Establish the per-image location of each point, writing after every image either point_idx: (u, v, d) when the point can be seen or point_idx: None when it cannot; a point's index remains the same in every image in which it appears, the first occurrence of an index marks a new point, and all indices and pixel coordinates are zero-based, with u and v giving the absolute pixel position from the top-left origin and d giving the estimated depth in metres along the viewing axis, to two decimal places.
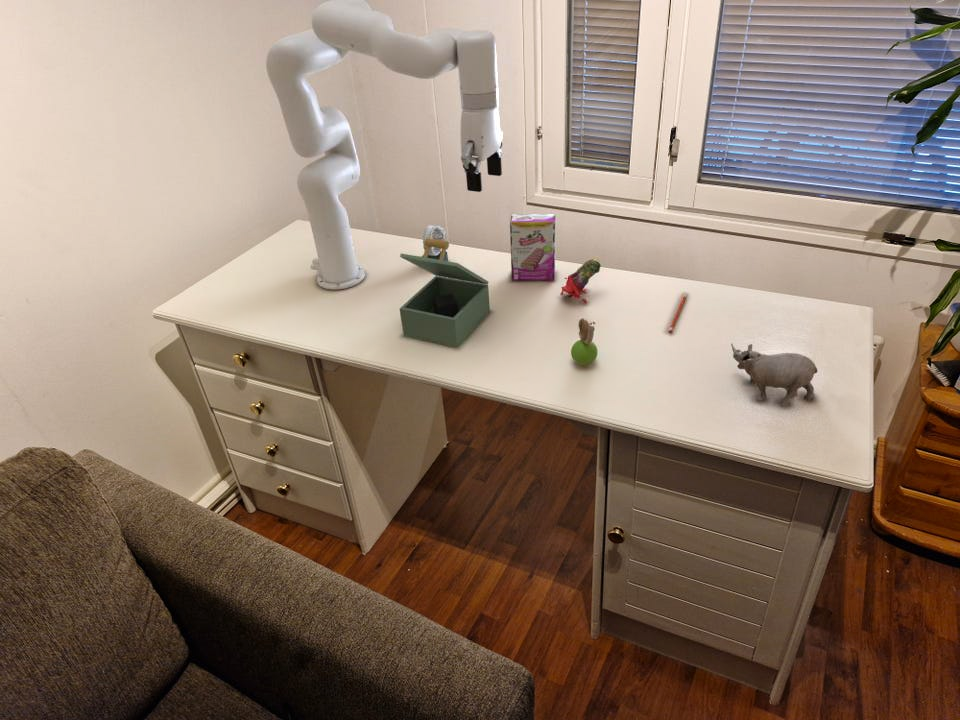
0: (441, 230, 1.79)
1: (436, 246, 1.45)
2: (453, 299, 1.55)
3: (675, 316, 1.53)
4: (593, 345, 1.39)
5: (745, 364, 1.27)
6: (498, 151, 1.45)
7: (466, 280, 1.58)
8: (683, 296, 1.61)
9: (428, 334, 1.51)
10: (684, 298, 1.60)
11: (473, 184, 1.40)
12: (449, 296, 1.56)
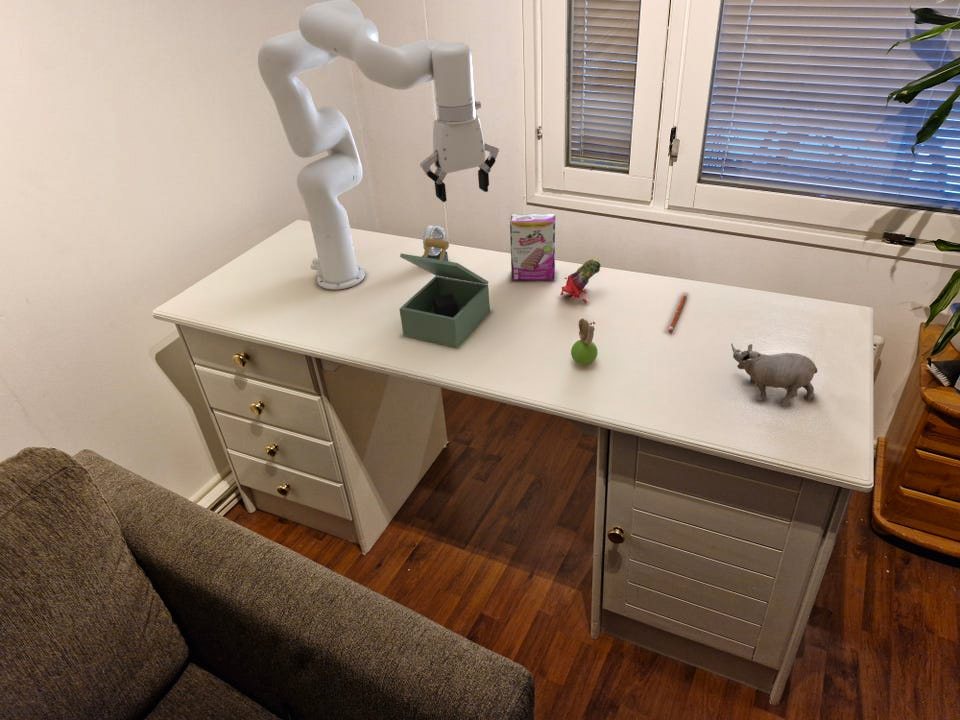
0: (441, 230, 1.79)
1: (436, 246, 1.45)
2: (453, 299, 1.55)
3: (675, 315, 1.53)
4: (593, 345, 1.39)
5: (745, 364, 1.27)
6: (483, 167, 1.41)
7: (466, 280, 1.58)
8: (684, 295, 1.60)
9: (428, 334, 1.51)
10: (684, 297, 1.60)
11: (437, 193, 1.40)
12: (449, 296, 1.56)
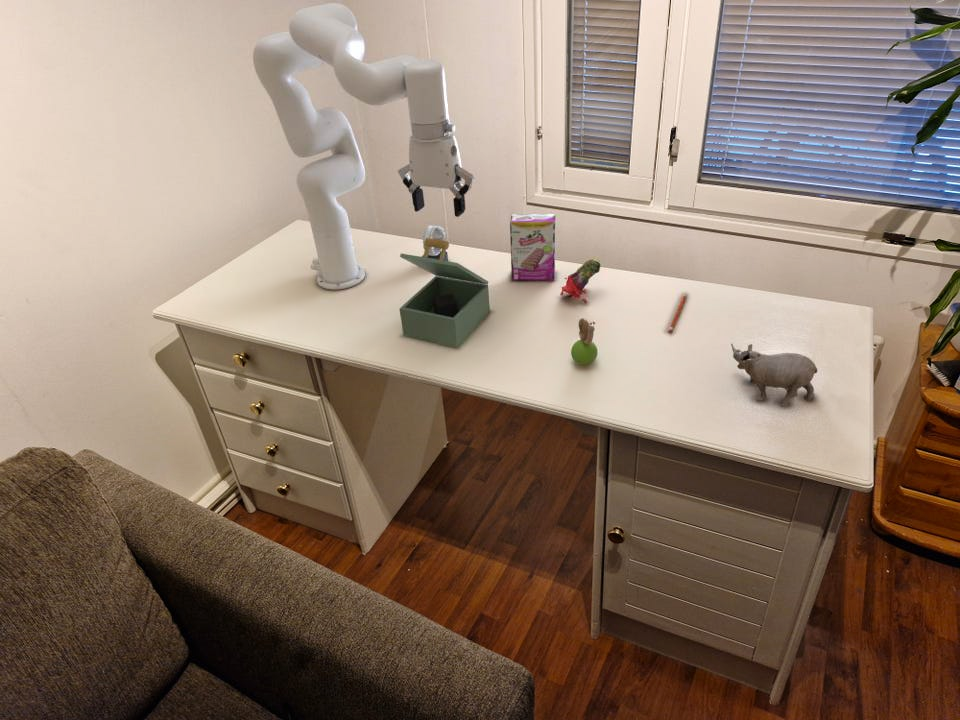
0: (441, 230, 1.79)
1: (436, 246, 1.45)
2: (453, 299, 1.55)
3: (675, 316, 1.53)
4: (593, 345, 1.39)
5: (745, 364, 1.27)
6: (453, 191, 1.36)
7: (466, 280, 1.58)
8: (683, 296, 1.61)
9: (428, 334, 1.51)
10: (684, 298, 1.60)
11: None
12: (449, 296, 1.56)
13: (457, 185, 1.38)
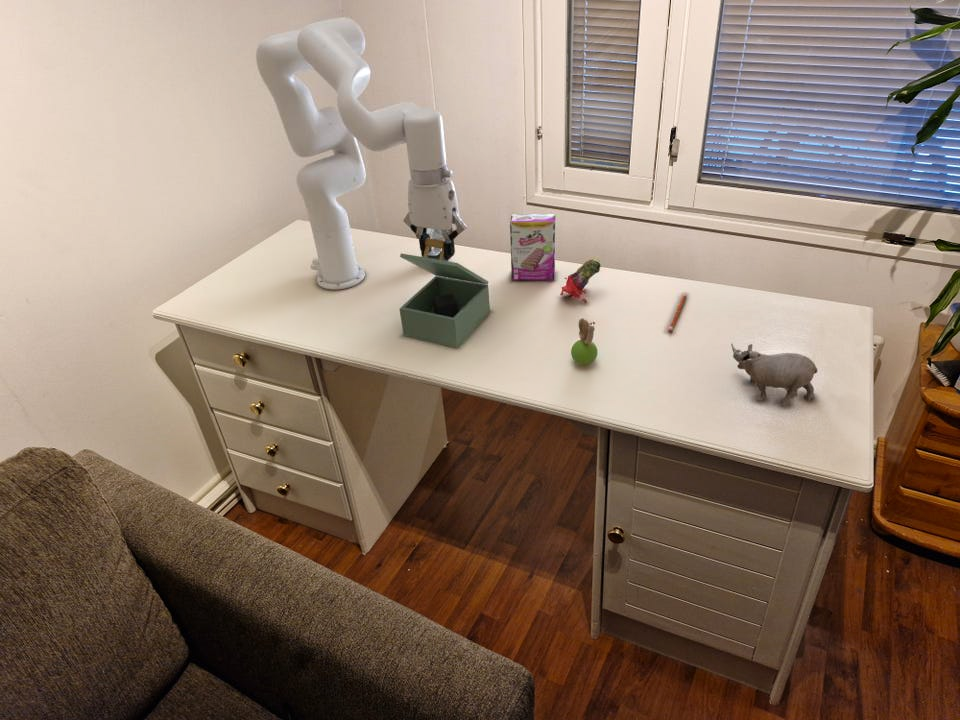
0: None
1: (436, 246, 1.45)
2: (453, 299, 1.55)
3: (675, 315, 1.53)
4: (593, 345, 1.39)
5: (745, 364, 1.27)
6: (443, 236, 1.42)
7: (466, 280, 1.58)
8: (684, 295, 1.60)
9: (428, 334, 1.51)
10: (684, 297, 1.60)
11: None
12: (449, 296, 1.56)
13: None
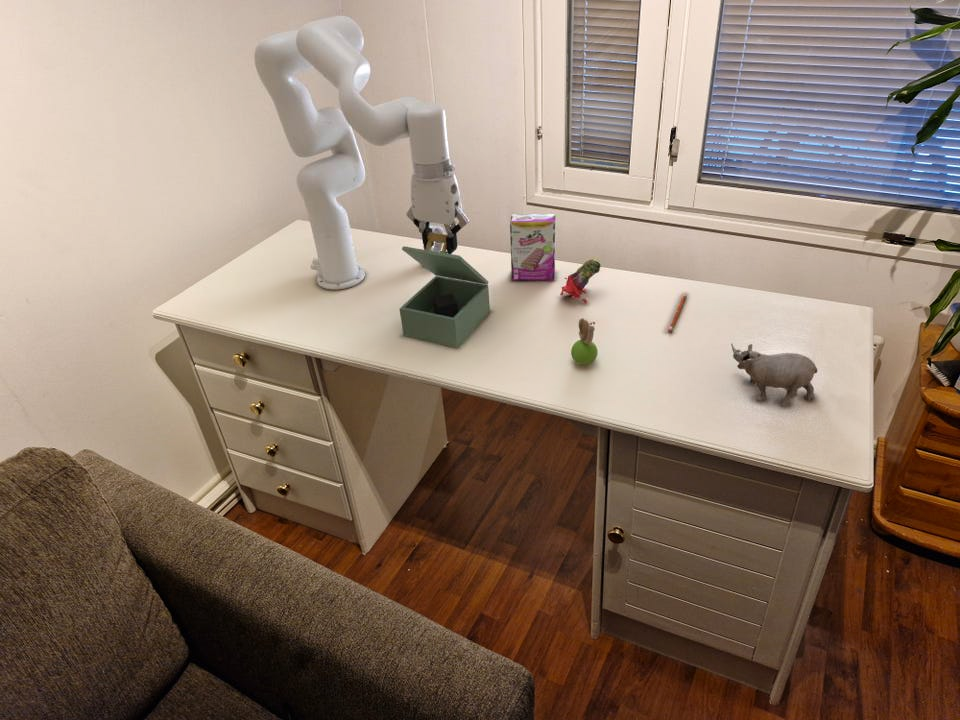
0: (441, 230, 1.79)
1: (438, 239, 1.45)
2: (453, 299, 1.55)
3: (675, 315, 1.53)
4: (593, 345, 1.39)
5: (745, 364, 1.27)
6: None
7: (466, 280, 1.58)
8: (684, 295, 1.61)
9: (428, 334, 1.51)
10: (684, 297, 1.60)
11: None
12: (449, 296, 1.56)
13: (452, 223, 1.44)
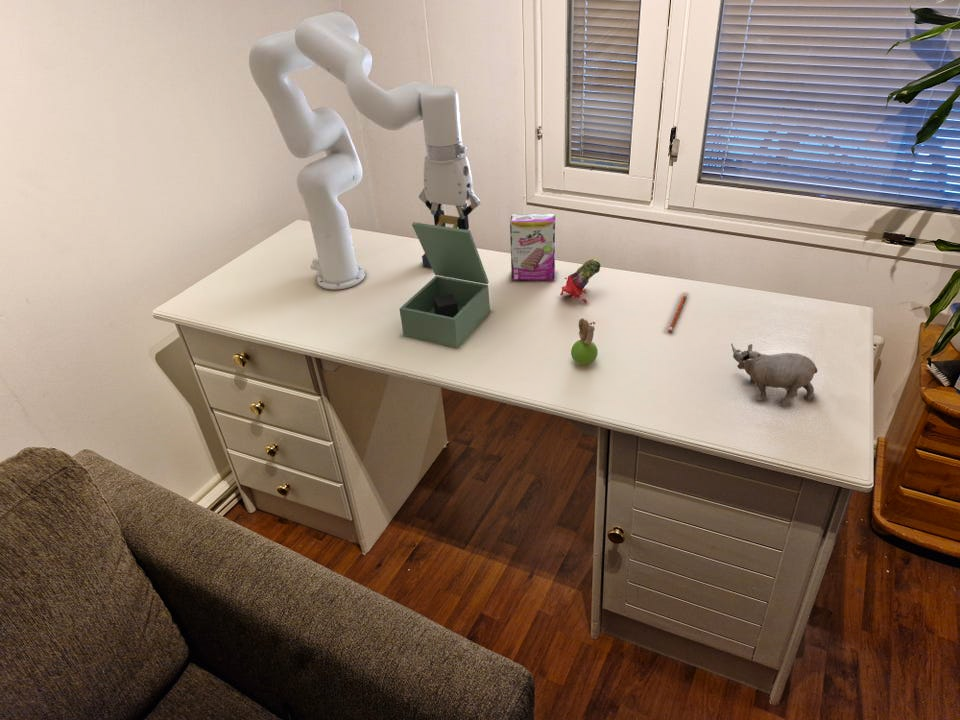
0: None
1: (450, 220, 1.48)
2: (453, 299, 1.55)
3: (675, 316, 1.53)
4: (593, 345, 1.39)
5: (745, 364, 1.27)
6: None
7: (466, 278, 1.58)
8: (683, 296, 1.61)
9: (428, 334, 1.51)
10: (684, 298, 1.60)
11: None
12: (449, 296, 1.56)
13: (463, 205, 1.47)
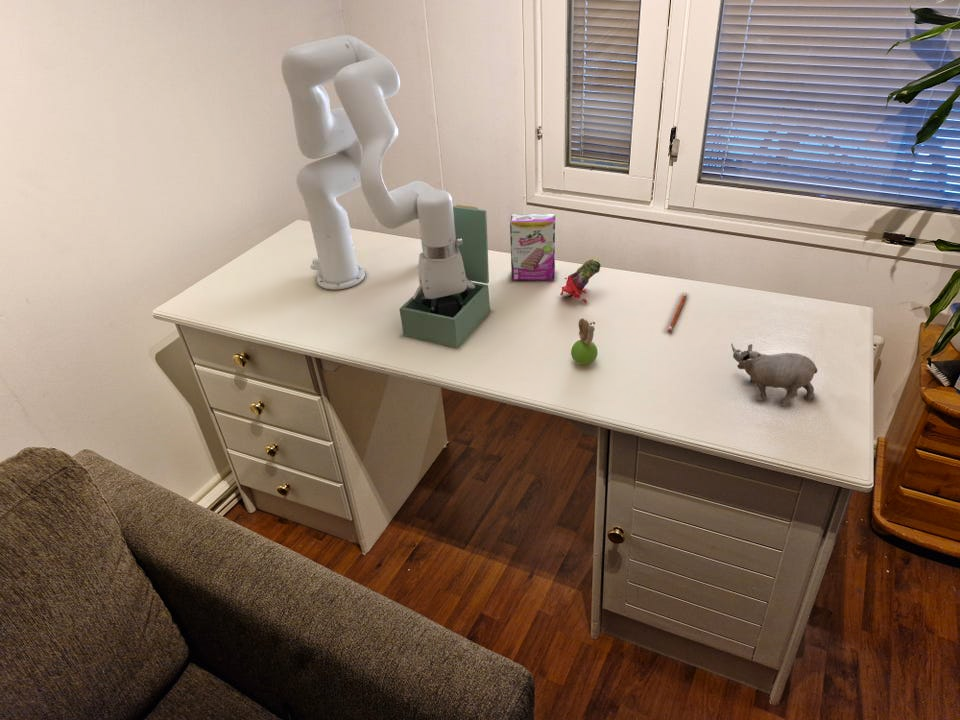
0: None
1: (466, 208, 1.54)
2: (453, 299, 1.55)
3: (675, 315, 1.53)
4: (593, 345, 1.39)
5: (745, 364, 1.27)
6: (456, 299, 1.54)
7: (467, 276, 1.58)
8: (683, 295, 1.61)
9: (428, 334, 1.51)
10: (684, 297, 1.60)
11: None
12: (449, 296, 1.56)
13: None
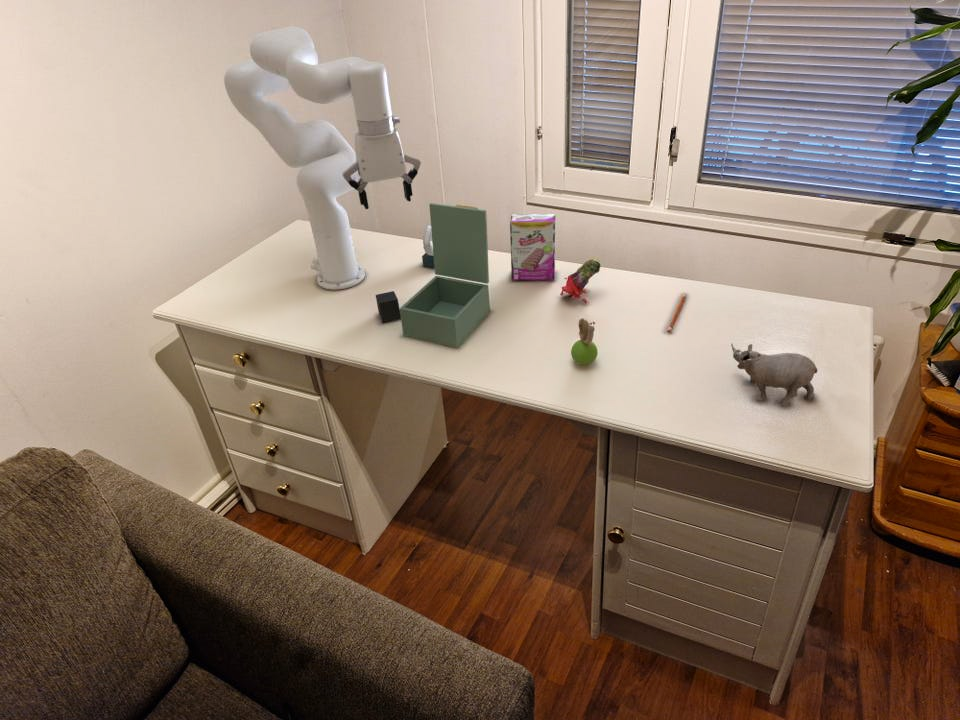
0: None
1: (466, 208, 1.54)
2: (394, 296, 1.59)
3: (674, 316, 1.53)
4: (593, 345, 1.39)
5: (745, 364, 1.27)
6: (405, 178, 1.49)
7: (467, 276, 1.58)
8: (683, 296, 1.61)
9: (428, 334, 1.51)
10: (683, 298, 1.60)
11: (360, 200, 1.50)
12: (391, 293, 1.61)
13: None
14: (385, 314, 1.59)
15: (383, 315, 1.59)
